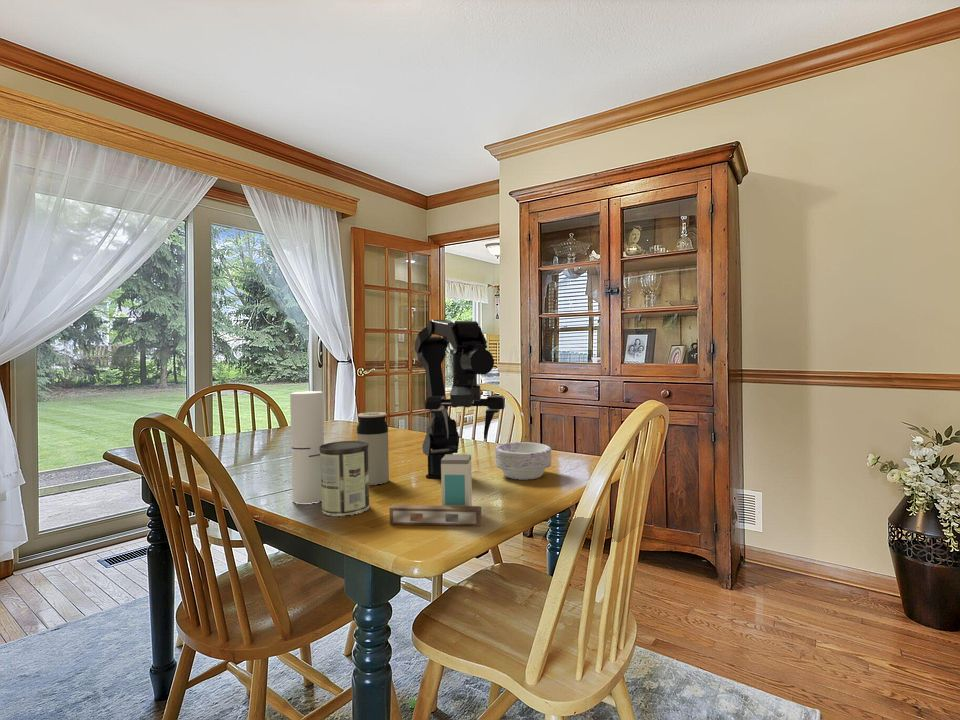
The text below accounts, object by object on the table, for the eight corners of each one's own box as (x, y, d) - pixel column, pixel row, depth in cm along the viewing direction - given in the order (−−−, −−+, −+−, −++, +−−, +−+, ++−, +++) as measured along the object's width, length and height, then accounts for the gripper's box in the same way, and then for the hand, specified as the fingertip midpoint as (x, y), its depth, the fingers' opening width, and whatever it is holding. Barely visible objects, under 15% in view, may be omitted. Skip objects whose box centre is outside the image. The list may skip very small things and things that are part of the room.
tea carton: (446, 510, 107) (445, 454, 107) (472, 510, 106) (471, 454, 106) (441, 519, 101) (440, 460, 101) (468, 519, 101) (467, 460, 100)
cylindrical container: (294, 497, 119) (292, 391, 118) (326, 494, 120) (323, 390, 120) (290, 506, 112) (287, 394, 111) (323, 503, 113) (321, 393, 113)
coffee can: (342, 500, 116) (341, 439, 115) (379, 505, 111) (377, 442, 111) (310, 513, 106) (308, 447, 106) (349, 519, 102) (347, 450, 102)
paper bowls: (546, 484, 126) (546, 453, 126) (488, 481, 130) (488, 451, 130) (555, 470, 140) (555, 442, 140) (503, 468, 145) (502, 440, 145)
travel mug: (363, 487, 126) (361, 416, 126) (354, 481, 133) (352, 413, 132) (393, 483, 130) (392, 414, 130) (383, 476, 137) (381, 411, 136)
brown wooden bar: (388, 525, 98) (388, 508, 98) (392, 520, 101) (392, 504, 101) (480, 527, 96) (479, 510, 96) (481, 522, 99) (481, 506, 99)
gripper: (418, 375, 112) (420, 444, 113) (501, 374, 110) (502, 444, 111) (429, 373, 124) (430, 436, 124) (504, 372, 122) (505, 436, 122)
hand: (466, 438), depth 120 cm, fingers open, 9 cm apart
